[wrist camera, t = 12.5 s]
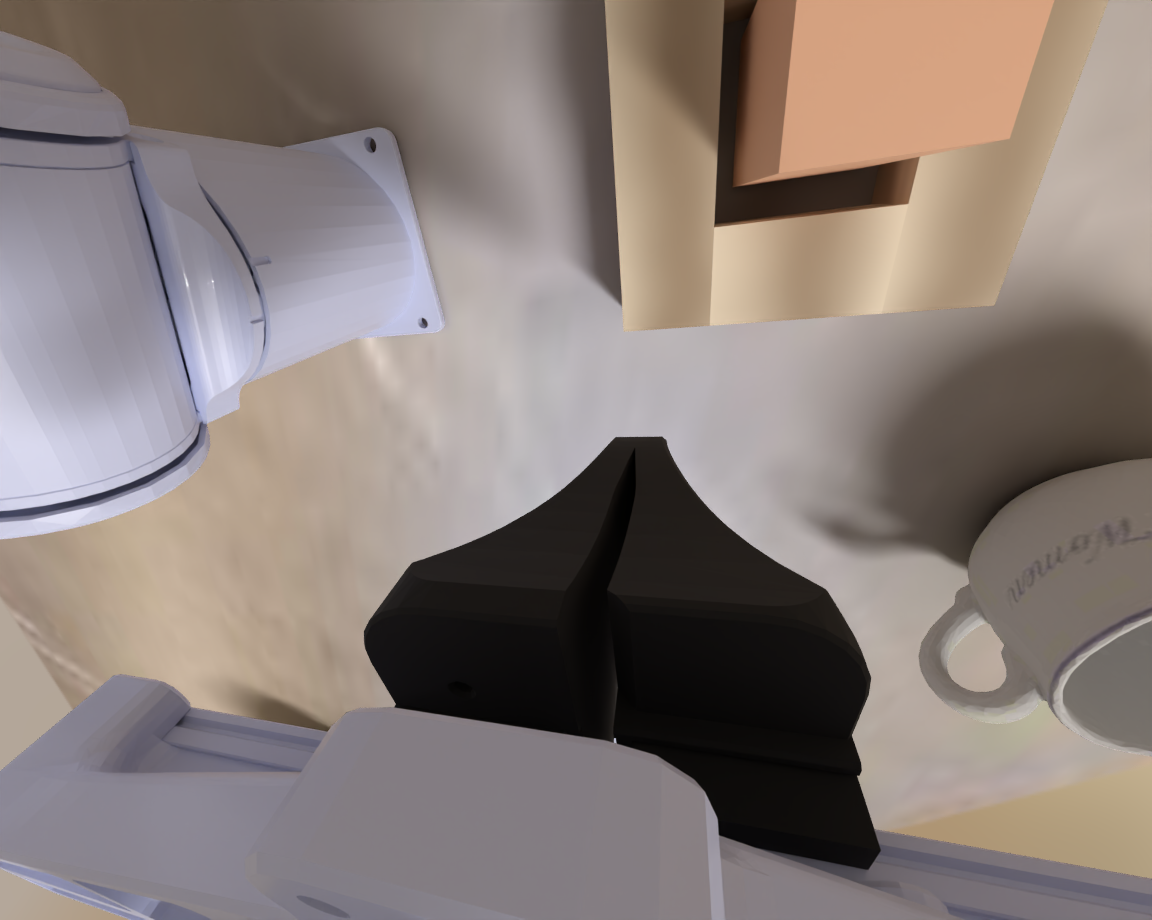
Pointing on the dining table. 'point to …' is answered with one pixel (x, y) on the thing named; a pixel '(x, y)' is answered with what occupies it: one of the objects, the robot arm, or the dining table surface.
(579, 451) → the dining table surface
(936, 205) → the birch socket block
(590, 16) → the dining table surface
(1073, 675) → the teacup
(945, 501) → the dining table surface
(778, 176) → the terracotta peg
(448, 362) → the dining table surface
